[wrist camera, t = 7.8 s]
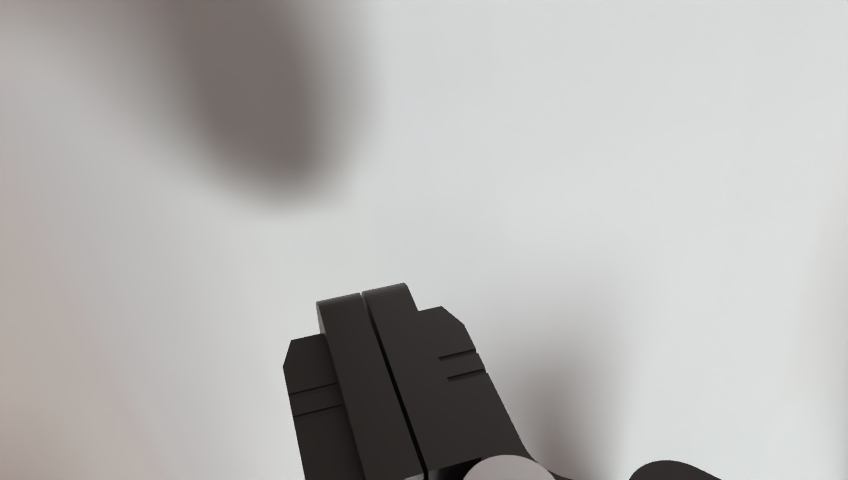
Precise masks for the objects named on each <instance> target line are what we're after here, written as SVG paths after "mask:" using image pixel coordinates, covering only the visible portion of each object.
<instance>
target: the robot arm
mask: <svg viewBox="0 0 848 480" xmlns="http://www.w3.org/2000/svg"><path fill="white" fill-rule="evenodd" d="M361 296H362V297H361ZM316 308H317V315H318V321H319V328H320V334H317V335H312V336H308V337H304V338H299V339H295V340H291V342H290V346H289V349H288V352H287V355H286V358H285V362H284V365H283V370H284V375H285V380H286V385H287V390H288V395H289V400H290V405H291V410H292V415H293V420H294V425H295V430H296V435H297V440H298V445H299V450H300V455H301V460H302V465H303V470H304V475H305V480H572V479H567V478H564V477H561V476H559V475H556V474H554V473H552V472H550V471H548V470H547V469H545V468H544V467H542V466H541V465H540V464H538V463H537V462H536V461H535V460H534V459H533V458H532V457H531V456H530V454H529V453H528V452H527V450H526V449H525V447H524V445H523V444H522V442H521V440H520V438H519V435H518V433H517V431H516V429H515V427H514V425H513V423H512V421H511V419H510V417H509V415H508V413H507V411H506V409H505V407H504V405H503V403H502V401H501V399H500V397H499V395H498V393H497V391H496V389H495V387H494V385H493V383H492V381H491V379H490V377H489V375H488V373H486V370H485V367H484V364H483V362H482V360H481V358H480V356H479V354H478V353H476V348H475V346H474V344H473V342H472V340H471V338H470V336H469V334H468V332H467V330H466V328H465V326H464V324H463V323H461V322H460V321H459V320H458V319H457V318H455V317H454V316H453V315H452V314H451V313H449V312H448V311H447V310H446V309H445V308H443V307H442V306H440V307H435V308H431V309H426V310H422V311H418V309H417V307H416V305H415V302H414V300H413V298H412V296H411V293H410V291H409V289H408V287H407V285H406V284H405V283H400V284H396V285H391V286H386V287H382V288H377V289H372V290H368V291H363V292H362V295H360V293H355V294H350V295H346V296H341V297H336V298H332V299H327V300H322V301H318V302H316ZM629 480H721V479H719V478H717V477H714V476H712V475H710V474H708V473H706V472H704V471H702V470H700V469H698V468H696V467H694V466H691V465H689V464H686V463H682V462H678V461H671V460H661V461H655V462H651V463H648V464H645V465H644V466H642V467H640V468H639V469H638V470H637V471H635V472H634V473H633V475H632V476H631V478H630V479H629Z"/></svg>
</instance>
